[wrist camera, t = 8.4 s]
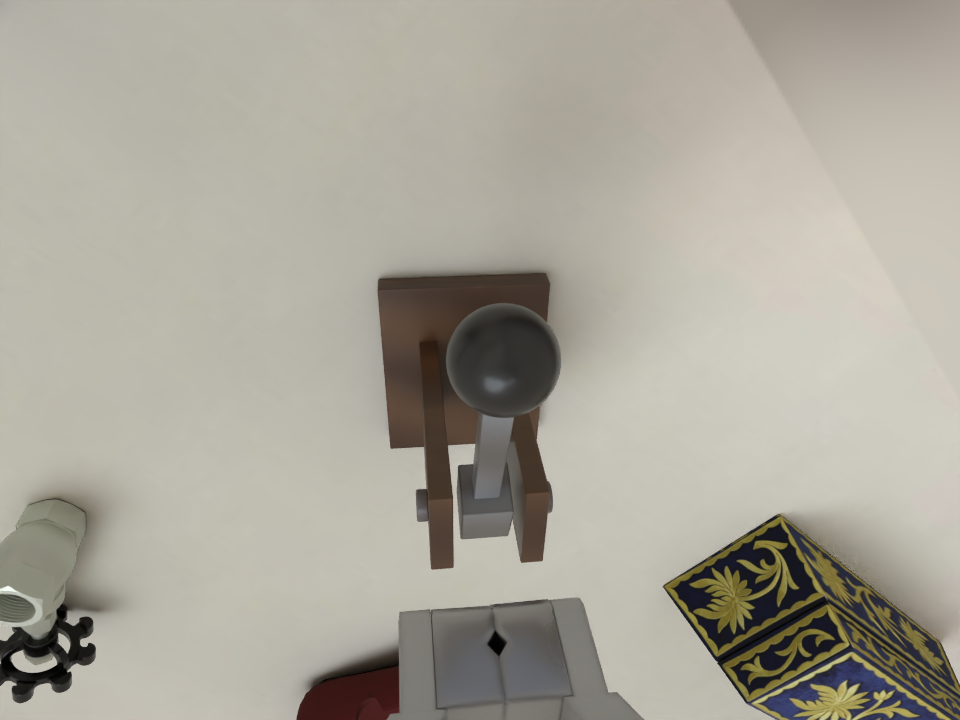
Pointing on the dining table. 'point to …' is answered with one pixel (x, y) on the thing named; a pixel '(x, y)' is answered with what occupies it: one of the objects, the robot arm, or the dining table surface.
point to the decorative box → (812, 634)
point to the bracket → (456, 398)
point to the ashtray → (353, 697)
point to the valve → (41, 596)
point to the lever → (497, 402)
